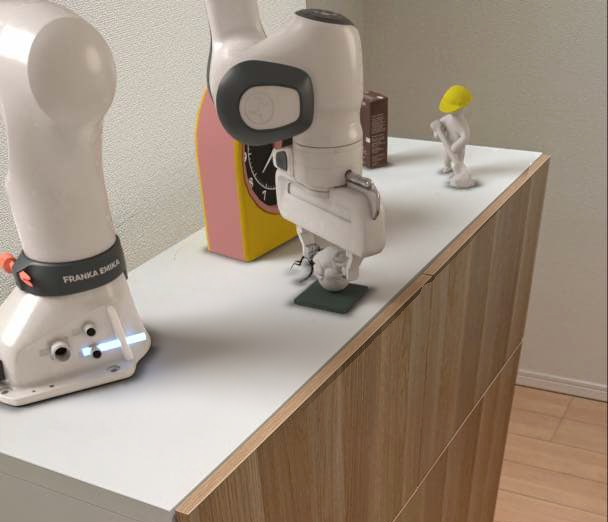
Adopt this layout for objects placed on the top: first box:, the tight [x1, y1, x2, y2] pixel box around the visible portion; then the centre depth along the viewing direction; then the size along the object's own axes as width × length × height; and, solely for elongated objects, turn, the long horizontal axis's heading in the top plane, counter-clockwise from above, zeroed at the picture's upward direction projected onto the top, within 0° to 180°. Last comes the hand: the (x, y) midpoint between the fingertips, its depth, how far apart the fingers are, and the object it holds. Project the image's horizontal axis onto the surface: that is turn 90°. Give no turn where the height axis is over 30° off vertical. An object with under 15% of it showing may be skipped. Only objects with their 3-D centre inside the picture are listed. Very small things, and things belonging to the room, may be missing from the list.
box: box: [360, 90, 389, 169], centre depth 149 cm, size 6×4×12 cm
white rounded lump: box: [313, 243, 351, 291], centre depth 109 cm, size 6×7×7 cm
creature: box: [290, 244, 326, 283], centre depth 115 cm, size 8×5×8 cm
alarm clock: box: [194, 86, 298, 262], centre depth 120 cm, size 21×9×26 cm, turn 143°
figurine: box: [430, 84, 477, 189], centre depth 139 cm, size 10×9×15 cm
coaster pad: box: [293, 278, 369, 315], centre depth 111 cm, size 8×8×1 cm
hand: (330, 267), depth 108 cm, fingers open, 8 cm apart
